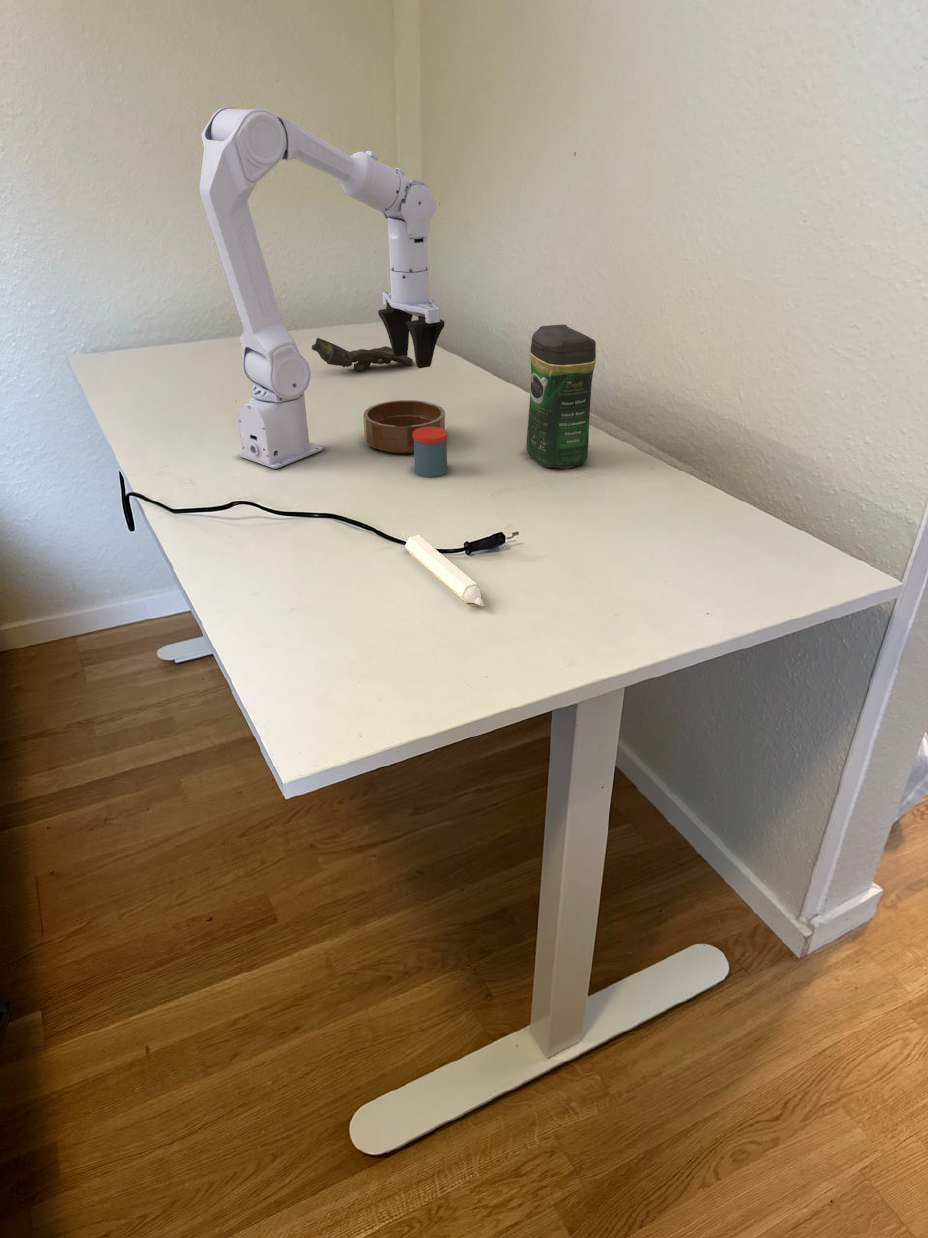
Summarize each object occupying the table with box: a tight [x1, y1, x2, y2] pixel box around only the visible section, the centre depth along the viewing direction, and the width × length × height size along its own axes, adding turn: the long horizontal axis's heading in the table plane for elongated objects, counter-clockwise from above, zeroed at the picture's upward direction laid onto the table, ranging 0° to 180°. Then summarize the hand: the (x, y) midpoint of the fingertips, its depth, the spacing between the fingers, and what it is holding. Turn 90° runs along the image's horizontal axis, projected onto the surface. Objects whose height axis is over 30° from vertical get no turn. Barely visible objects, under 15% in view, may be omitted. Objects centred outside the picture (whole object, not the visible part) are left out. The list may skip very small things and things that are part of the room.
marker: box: [404, 534, 485, 608], centre depth 94 cm, size 3×2×16 cm
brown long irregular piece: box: [311, 337, 414, 373], centre depth 161 cm, size 6×6×20 cm
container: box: [413, 427, 449, 478], centre depth 120 cm, size 5×5×6 cm
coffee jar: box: [525, 324, 597, 469], centre depth 120 cm, size 10×8×19 cm
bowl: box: [362, 399, 446, 454], centre depth 130 cm, size 12×12×4 cm
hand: (412, 360), depth 134 cm, fingers open, 7 cm apart
